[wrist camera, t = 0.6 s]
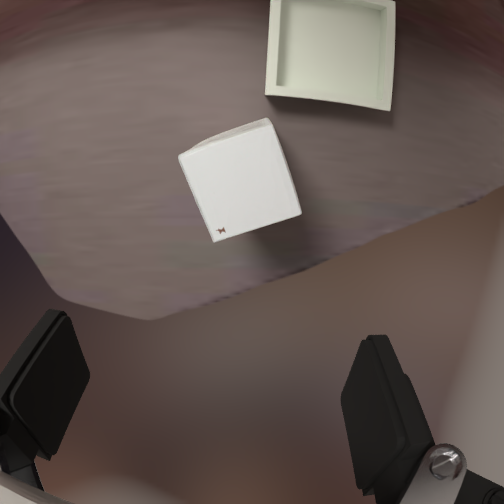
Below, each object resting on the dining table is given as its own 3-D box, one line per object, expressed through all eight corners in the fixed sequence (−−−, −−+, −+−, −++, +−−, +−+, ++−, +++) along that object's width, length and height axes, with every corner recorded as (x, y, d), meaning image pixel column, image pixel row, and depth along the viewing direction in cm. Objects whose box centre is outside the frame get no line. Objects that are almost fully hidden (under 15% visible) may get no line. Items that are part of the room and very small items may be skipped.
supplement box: (289, 178, 35) (304, 218, 23) (226, 198, 36) (211, 246, 25) (269, 115, 32) (274, 121, 20) (203, 137, 33) (174, 157, 22)
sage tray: (271, -13, 25) (271, -21, 23) (387, 6, 25) (395, 1, 23) (264, 95, 31) (265, 94, 28) (381, 110, 31) (390, 111, 28)
